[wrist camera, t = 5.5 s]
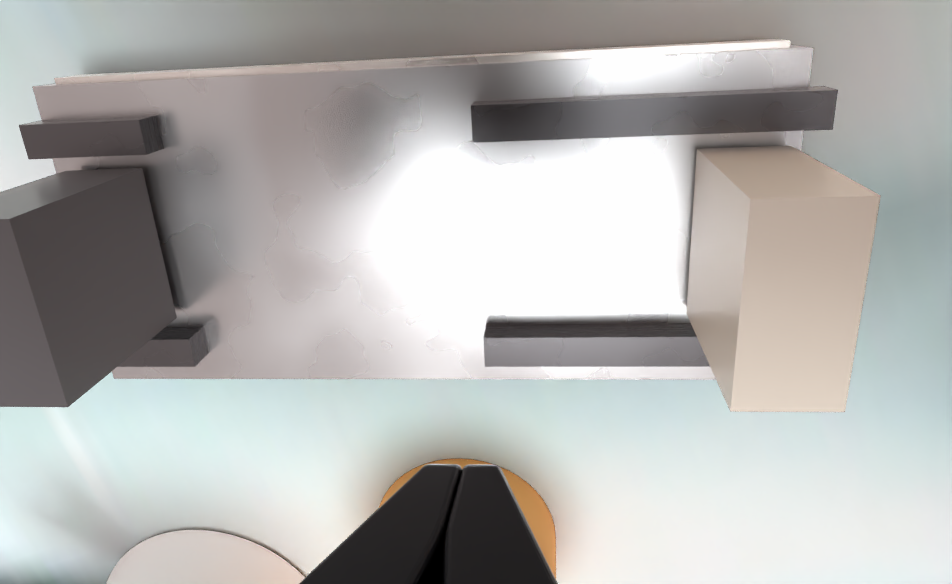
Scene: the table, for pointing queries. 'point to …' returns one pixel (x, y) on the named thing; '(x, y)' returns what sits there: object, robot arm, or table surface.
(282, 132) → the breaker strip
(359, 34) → the table surface
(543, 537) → the orange short rounded piece
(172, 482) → the table surface
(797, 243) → the beige cardboard box
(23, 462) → the table surface
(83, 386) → the toggle black
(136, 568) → the mug
